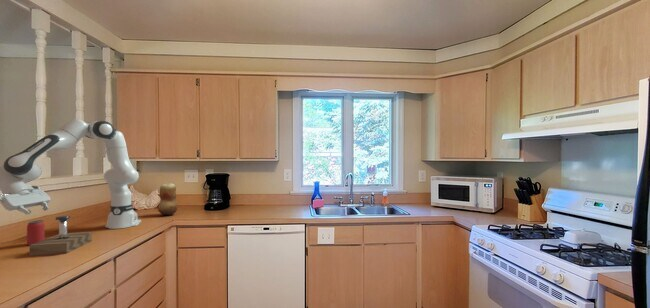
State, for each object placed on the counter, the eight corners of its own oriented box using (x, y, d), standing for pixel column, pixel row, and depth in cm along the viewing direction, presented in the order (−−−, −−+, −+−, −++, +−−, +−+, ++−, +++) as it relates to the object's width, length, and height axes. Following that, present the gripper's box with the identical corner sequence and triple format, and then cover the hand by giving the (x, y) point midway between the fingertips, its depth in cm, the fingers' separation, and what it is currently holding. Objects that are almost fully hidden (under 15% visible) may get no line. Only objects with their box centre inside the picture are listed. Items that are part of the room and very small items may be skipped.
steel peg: (60, 246, 145) (60, 215, 145) (73, 245, 146) (73, 215, 146) (52, 250, 140) (52, 218, 140) (65, 249, 141) (65, 217, 141)
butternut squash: (155, 217, 212) (155, 184, 212) (161, 213, 225) (161, 183, 225) (175, 216, 215) (175, 184, 215) (180, 212, 228) (180, 182, 228)
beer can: (43, 241, 154) (43, 219, 154) (45, 243, 150) (45, 221, 150) (26, 244, 149) (26, 221, 149) (27, 246, 145) (27, 223, 145)
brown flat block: (59, 242, 151) (59, 233, 151) (91, 240, 154) (91, 231, 154) (29, 255, 131) (29, 245, 132) (66, 253, 135) (66, 243, 135)
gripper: (0, 190, 132) (21, 211, 132) (42, 185, 152) (60, 203, 153) (-10, 200, 132) (11, 220, 132) (33, 194, 152) (52, 211, 152)
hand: (38, 211), depth 142 cm, fingers open, 8 cm apart
